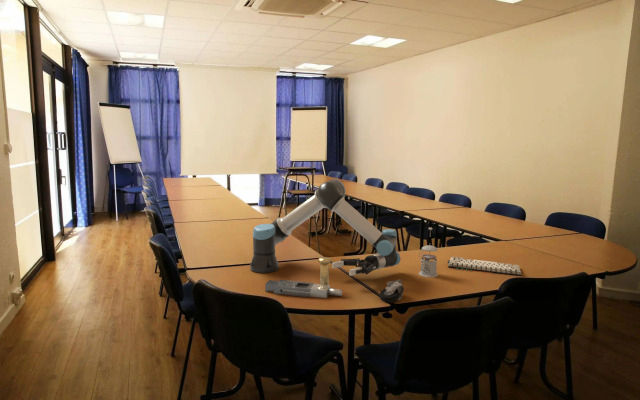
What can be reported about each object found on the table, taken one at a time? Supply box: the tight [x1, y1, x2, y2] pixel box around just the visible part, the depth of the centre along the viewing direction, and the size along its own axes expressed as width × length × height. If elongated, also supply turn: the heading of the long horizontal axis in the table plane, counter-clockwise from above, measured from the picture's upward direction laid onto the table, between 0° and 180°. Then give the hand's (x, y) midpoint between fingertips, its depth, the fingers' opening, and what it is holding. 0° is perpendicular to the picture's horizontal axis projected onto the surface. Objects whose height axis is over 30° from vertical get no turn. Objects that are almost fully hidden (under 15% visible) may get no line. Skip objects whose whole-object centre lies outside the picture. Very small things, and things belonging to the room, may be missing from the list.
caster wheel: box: [379, 279, 405, 304], centre depth 180 cm, size 7×11×10 cm
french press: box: [418, 227, 439, 278], centre depth 214 cm, size 10×12×25 cm
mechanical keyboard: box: [447, 256, 522, 277], centre depth 227 cm, size 38×19×3 cm, turn 69°
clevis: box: [264, 279, 343, 299], centre depth 187 cm, size 35×9×4 cm, turn 76°
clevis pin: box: [318, 256, 332, 285], centre depth 193 cm, size 6×6×14 cm
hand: (340, 269), depth 198 cm, fingers open, 13 cm apart
